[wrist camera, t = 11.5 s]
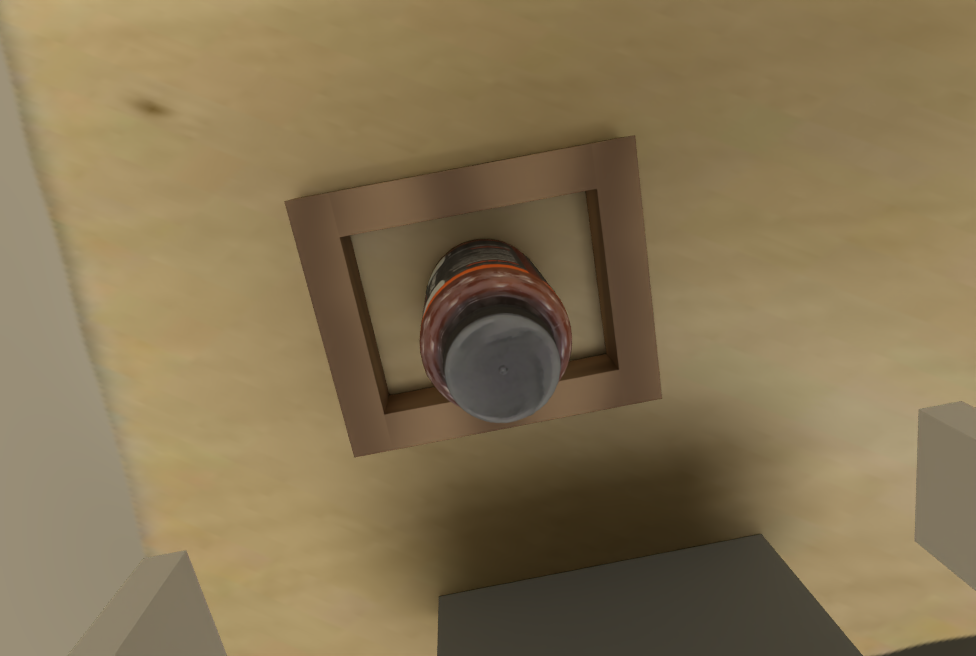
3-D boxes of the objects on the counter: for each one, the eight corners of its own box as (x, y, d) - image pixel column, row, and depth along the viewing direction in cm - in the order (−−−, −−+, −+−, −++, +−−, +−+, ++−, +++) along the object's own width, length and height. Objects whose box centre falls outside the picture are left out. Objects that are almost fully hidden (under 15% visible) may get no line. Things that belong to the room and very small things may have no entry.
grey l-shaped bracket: (755, 425, 33) (1089, 714, 16) (762, 555, 36) (1058, 929, 18) (412, 491, 33) (370, 856, 16) (444, 617, 36) (437, 1053, 18)
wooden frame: (619, 137, 29) (635, 135, 26) (646, 380, 32) (661, 398, 30) (298, 197, 28) (284, 201, 26) (361, 435, 32) (354, 457, 30)
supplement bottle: (403, 277, 30) (376, 343, 19) (502, 214, 29) (532, 245, 18) (466, 369, 31) (474, 479, 21) (561, 311, 31) (621, 392, 20)
